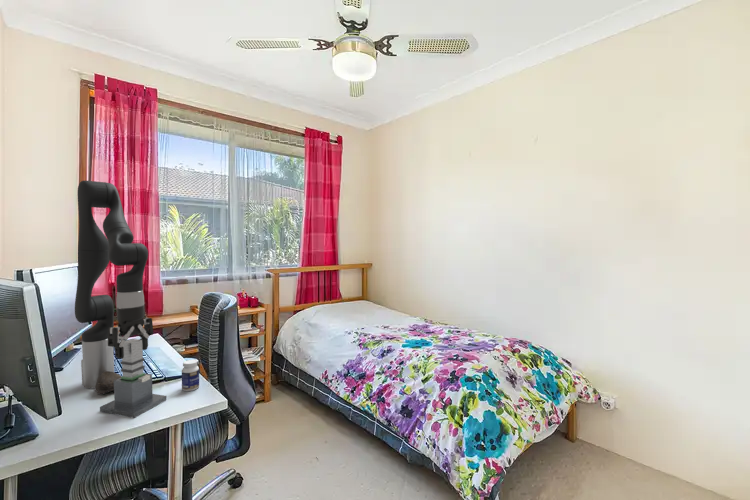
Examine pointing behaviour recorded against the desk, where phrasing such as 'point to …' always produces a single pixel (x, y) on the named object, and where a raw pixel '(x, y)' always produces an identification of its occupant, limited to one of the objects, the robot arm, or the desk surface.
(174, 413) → the desk surface
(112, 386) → the stone
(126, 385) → the stand
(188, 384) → the pill bottle
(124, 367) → the column
